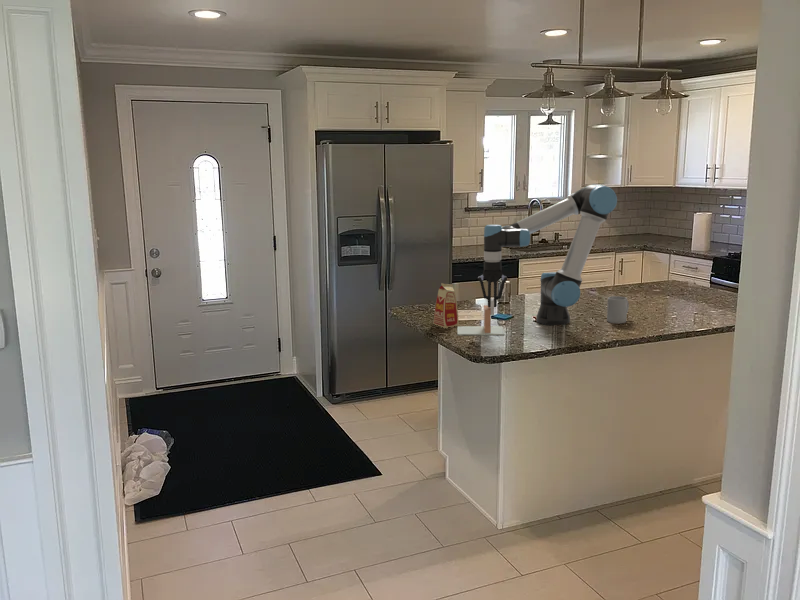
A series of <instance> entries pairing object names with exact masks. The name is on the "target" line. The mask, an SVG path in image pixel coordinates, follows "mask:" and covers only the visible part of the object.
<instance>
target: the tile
mask: <svg viewBox="0 0 800 600" xmlns="http://www.w3.org/2000/svg"><path fill="white" fill-rule="evenodd" d="M491 319H492V315H491V309H490V307H488V304H485V305H483V326H484V331H485V333H491V326H492V325H491V324H492V320H491Z"/></svg>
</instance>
